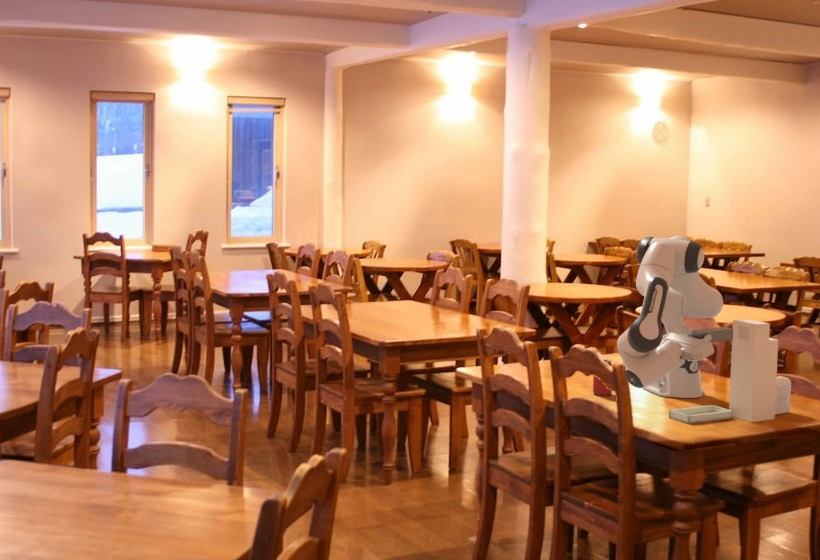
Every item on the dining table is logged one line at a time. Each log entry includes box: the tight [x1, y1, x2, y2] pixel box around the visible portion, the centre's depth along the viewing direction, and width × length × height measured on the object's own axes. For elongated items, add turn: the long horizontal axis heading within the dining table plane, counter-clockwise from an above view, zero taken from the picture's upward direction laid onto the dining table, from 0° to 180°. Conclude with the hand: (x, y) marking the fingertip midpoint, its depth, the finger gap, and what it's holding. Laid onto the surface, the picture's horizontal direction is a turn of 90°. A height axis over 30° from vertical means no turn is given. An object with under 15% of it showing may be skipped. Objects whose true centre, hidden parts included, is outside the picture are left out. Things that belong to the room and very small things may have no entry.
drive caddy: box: [692, 326, 733, 343], centre depth 331 cm, size 4×13×4 cm, turn 115°
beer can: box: [592, 359, 613, 397], centre depth 374 cm, size 7×7×12 cm
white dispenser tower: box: [728, 318, 779, 423], centre depth 340 cm, size 10×10×32 cm
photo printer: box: [775, 375, 792, 416], centre depth 347 cm, size 10×4×12 cm, turn 123°
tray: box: [668, 404, 734, 425], centre depth 339 cm, size 9×18×2 cm, turn 117°
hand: (703, 334), depth 329 cm, fingers closed on drive caddy, 4 cm apart
